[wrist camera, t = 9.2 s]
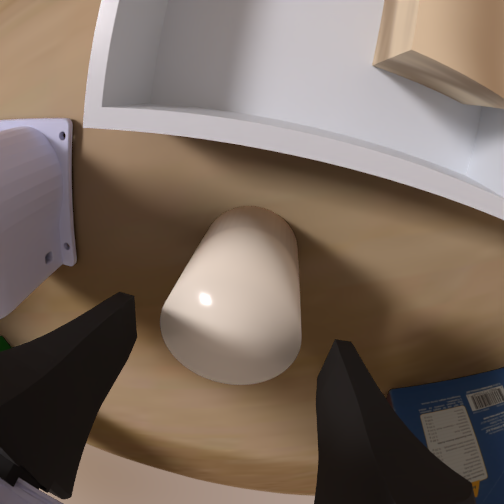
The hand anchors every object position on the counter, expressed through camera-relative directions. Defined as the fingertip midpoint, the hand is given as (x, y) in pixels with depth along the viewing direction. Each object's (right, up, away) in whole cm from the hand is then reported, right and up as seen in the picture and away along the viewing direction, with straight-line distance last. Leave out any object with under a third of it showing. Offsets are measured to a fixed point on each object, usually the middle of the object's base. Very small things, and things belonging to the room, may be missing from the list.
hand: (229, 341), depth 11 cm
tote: (+5, +14, 0) cm, 15 cm away
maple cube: (+9, +13, 0) cm, 16 cm away
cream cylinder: (+1, +3, +6) cm, 7 cm away
